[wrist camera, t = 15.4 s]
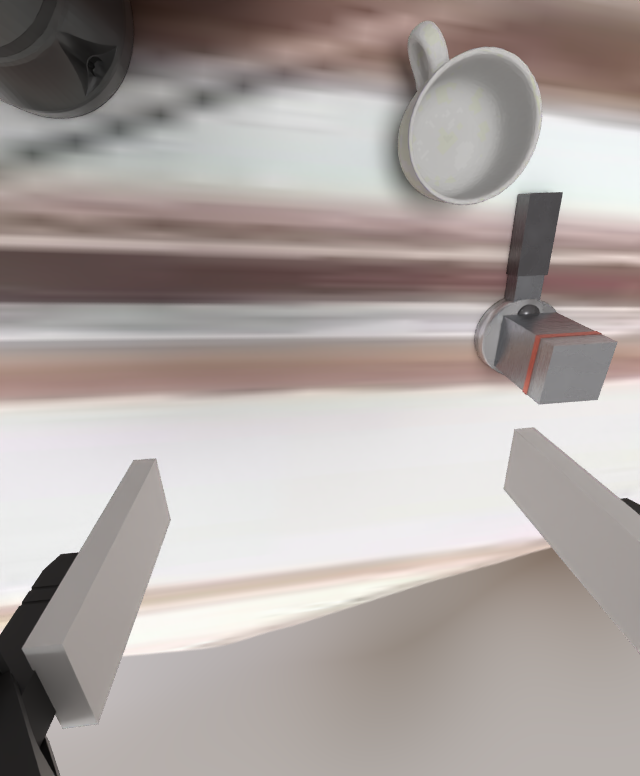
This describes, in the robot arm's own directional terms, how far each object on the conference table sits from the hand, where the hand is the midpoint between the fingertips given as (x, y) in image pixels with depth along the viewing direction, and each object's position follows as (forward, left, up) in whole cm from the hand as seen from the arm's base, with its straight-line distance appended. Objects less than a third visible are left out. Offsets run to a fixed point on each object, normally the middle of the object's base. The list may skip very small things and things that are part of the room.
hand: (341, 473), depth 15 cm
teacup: (-16, +14, -32) cm, 38 cm away
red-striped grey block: (+5, +25, -29) cm, 39 cm away
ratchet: (0, +25, -32) cm, 40 cm away
